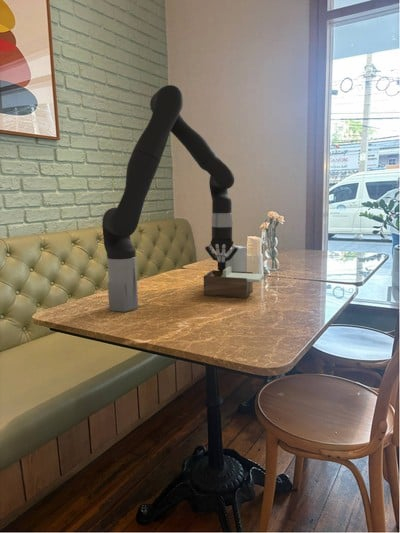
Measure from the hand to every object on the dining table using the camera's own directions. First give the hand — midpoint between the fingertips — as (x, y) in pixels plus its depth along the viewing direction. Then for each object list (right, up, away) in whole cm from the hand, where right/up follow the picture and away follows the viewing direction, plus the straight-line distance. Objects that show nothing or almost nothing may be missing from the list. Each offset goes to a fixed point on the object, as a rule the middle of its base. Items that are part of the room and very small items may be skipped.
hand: (221, 271), depth 147 cm
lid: (+7, -3, -2) cm, 8 cm away
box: (+3, -8, +1) cm, 9 cm away
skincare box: (+7, -5, +19) cm, 21 cm away
